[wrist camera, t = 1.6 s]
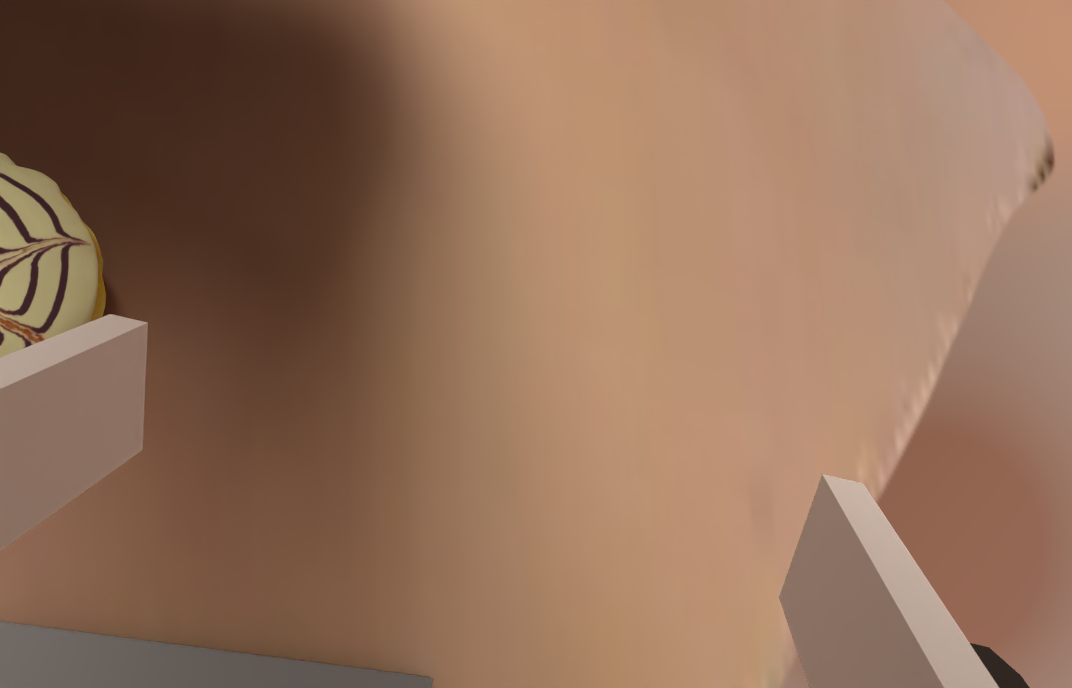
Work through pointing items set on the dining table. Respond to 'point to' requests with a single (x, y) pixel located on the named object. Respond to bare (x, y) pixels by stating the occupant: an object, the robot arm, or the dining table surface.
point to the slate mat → (164, 665)
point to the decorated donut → (43, 261)
